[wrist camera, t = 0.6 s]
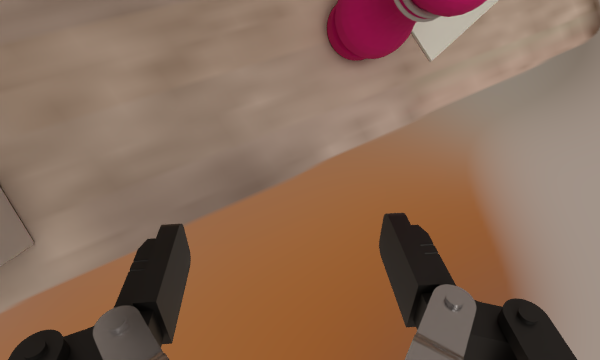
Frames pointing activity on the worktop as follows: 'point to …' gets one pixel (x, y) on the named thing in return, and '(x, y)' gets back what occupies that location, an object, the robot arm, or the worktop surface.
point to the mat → (445, 30)
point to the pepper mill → (384, 23)
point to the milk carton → (11, 232)
